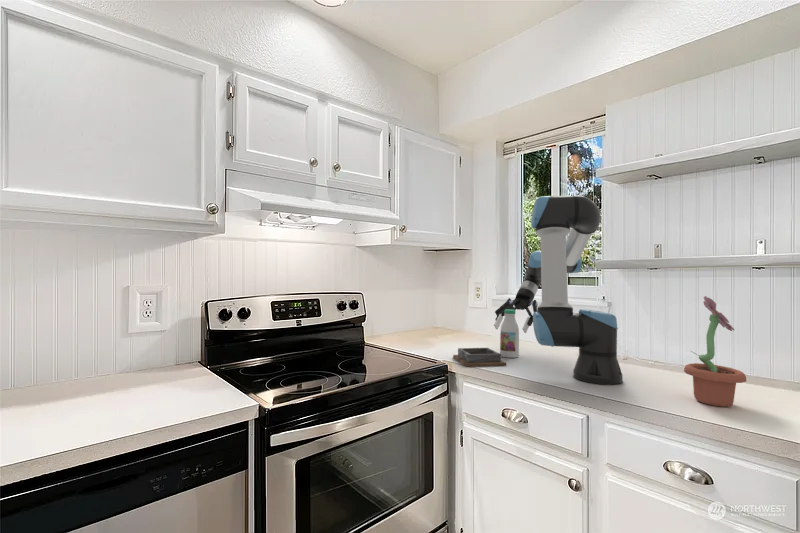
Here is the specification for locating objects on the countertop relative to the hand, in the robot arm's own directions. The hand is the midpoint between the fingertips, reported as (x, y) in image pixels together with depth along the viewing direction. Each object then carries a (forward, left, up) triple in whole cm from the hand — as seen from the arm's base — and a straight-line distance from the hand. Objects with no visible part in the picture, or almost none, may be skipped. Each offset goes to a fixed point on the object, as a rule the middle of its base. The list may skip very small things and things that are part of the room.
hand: (509, 329), depth 174 cm
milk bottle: (-1, 0, -12) cm, 12 cm away
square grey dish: (-9, +17, -11) cm, 23 cm away
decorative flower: (-67, -30, -12) cm, 74 cm away
